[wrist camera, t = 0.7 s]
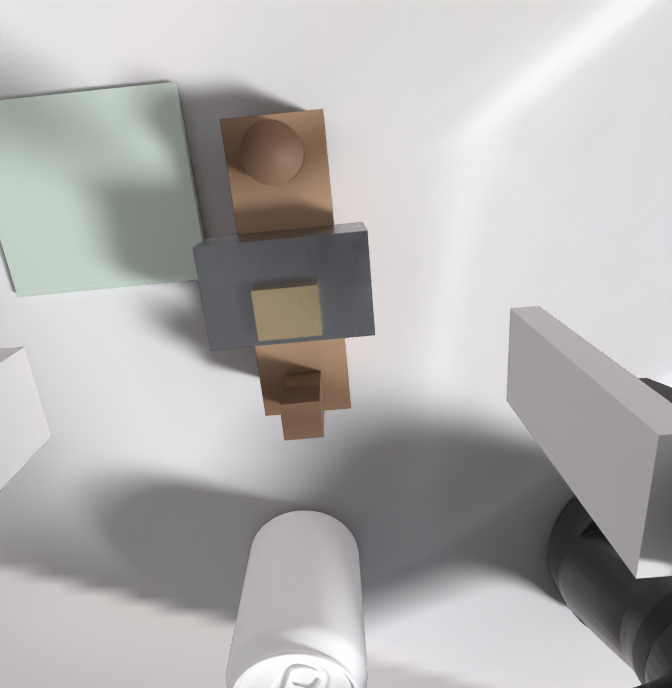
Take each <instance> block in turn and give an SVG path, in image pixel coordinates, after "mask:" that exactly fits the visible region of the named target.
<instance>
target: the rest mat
mask: <svg viewBox="0 0 672 688" xmlns="http://www.w3.org/2000/svg"><path fill="white" fill-rule="evenodd" d="M0 240H1V244H2V247H3V250H4V254H5V257H6V260H7V264H8V267H9V270H10V273H11V277H12V280H13V283H14V287H15V290H16V293H17V297H24V296H35V295H45V294H55V293H66V292H76V291H87V290H97V289H107V288H118V287H128V286H139V285H149V284H160V283H170V282H180V281H191V280H198V277H197V271H196V266H195V260H194V255H193V249H192V247H194V246H195V245H197V244H199V243H200V242H202V241H203V240H204V234H203V229H202V223H201V217H200V212H199V206H198V200H197V195H196V189H195V183H194V178H193V172H192V166H191V160H190V155H189V149H188V143H187V138H186V132H185V126H184V121H183V115H182V109H181V104H180V98H179V92H178V86H177V83H175V82H168V83H159V84H149V85H140V86H130V87H120V88H111V89H101V90H91V91H82V92H72V93H63V94H53V95H43V96H34V97H24V98H14V99H5V100H0Z"/></svg>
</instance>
